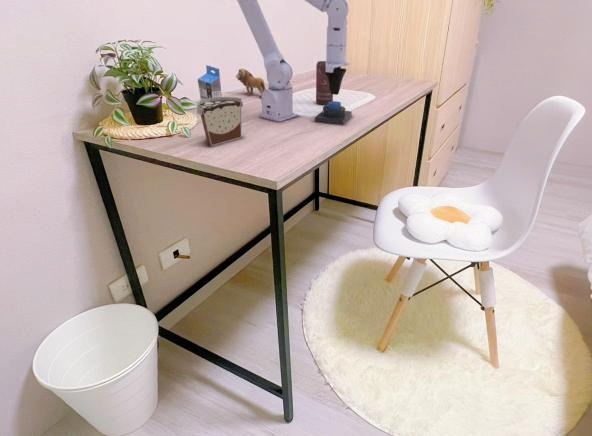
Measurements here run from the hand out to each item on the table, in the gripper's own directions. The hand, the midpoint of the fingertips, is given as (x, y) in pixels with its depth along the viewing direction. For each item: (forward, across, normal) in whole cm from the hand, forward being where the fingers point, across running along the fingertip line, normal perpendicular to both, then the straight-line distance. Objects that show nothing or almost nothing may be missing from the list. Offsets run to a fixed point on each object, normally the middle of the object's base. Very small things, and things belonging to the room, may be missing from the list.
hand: (334, 94), depth 113 cm
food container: (+8, -30, +23) cm, 38 cm away
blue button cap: (+5, 0, 0) cm, 5 cm away
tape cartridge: (+8, -2, +42) cm, 43 cm away
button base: (+8, 0, 0) cm, 8 cm away
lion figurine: (+8, +19, +37) cm, 42 cm away
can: (+8, +18, +8) cm, 21 cm away
